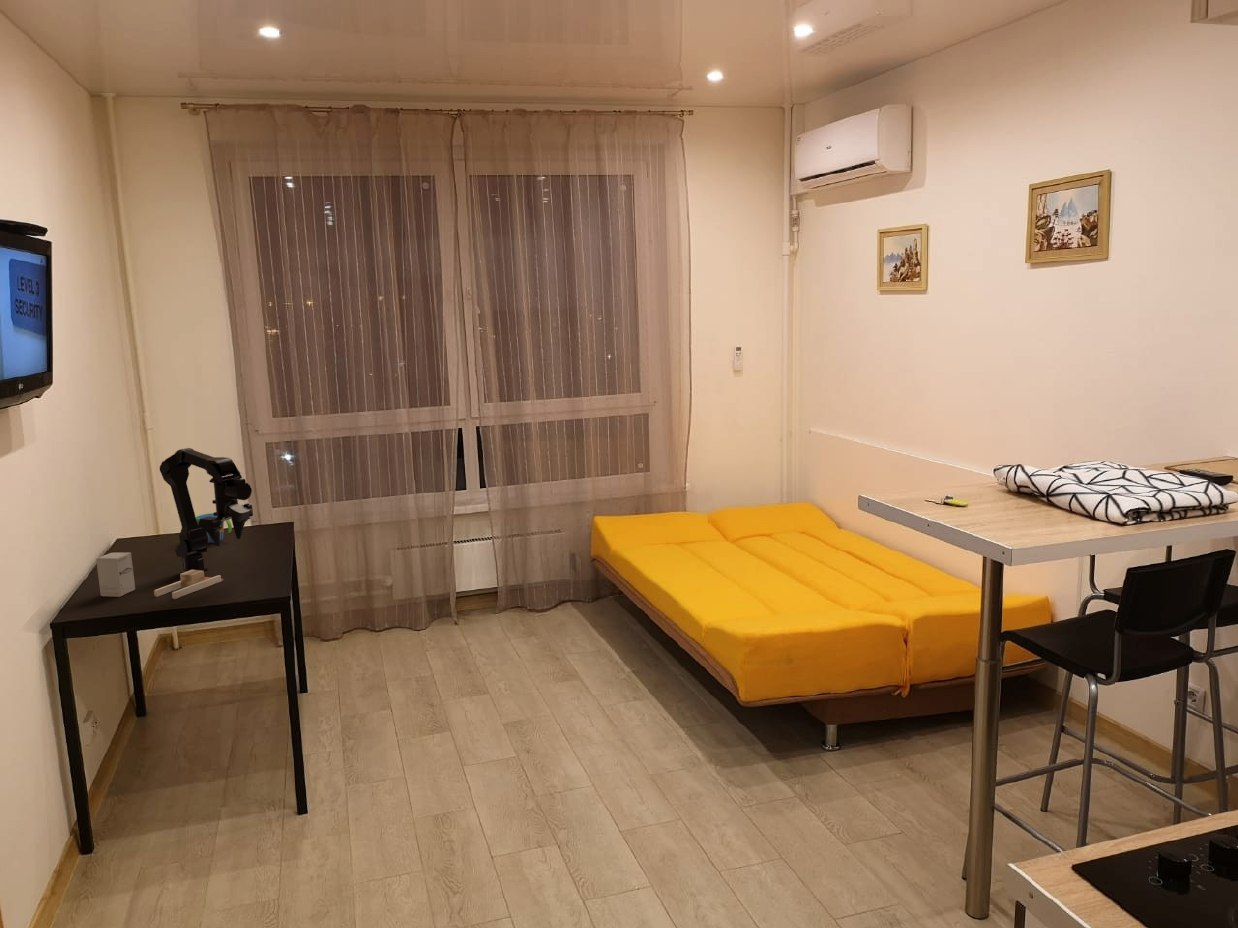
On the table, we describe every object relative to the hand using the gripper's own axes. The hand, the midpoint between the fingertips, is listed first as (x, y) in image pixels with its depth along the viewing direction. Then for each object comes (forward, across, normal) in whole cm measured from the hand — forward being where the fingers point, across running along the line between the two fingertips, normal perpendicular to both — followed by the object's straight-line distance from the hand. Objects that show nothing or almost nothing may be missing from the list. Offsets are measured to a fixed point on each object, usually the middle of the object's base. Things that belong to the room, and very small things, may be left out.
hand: (228, 542), depth 313 cm
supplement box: (+13, -23, +25) cm, 36 cm away
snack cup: (+14, +37, +45) cm, 60 cm away
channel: (+13, -12, +6) cm, 19 cm away
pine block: (+13, -11, +6) cm, 18 cm away
